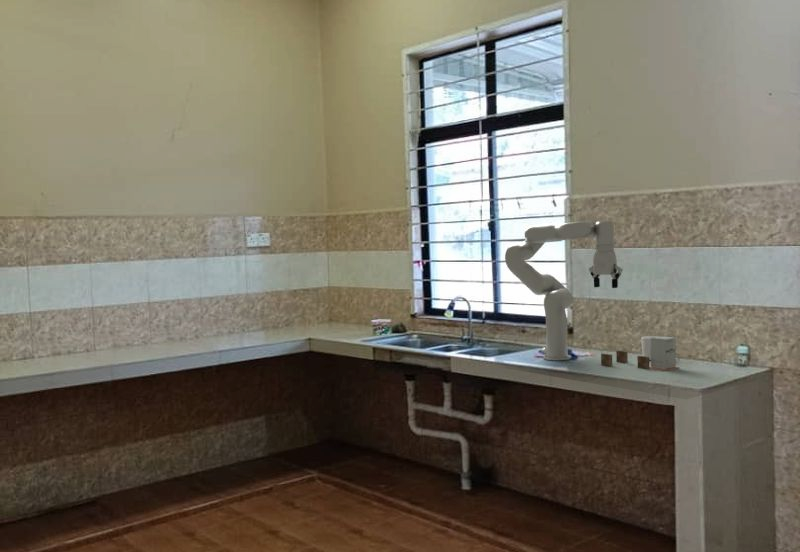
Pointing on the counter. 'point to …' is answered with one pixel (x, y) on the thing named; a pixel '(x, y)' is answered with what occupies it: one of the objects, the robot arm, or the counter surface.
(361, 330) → the counter surface
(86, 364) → the counter surface
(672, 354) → the supplement box
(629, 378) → the counter surface
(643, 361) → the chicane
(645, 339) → the white cup
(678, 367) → the mat
